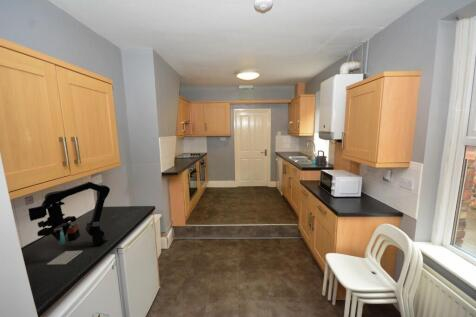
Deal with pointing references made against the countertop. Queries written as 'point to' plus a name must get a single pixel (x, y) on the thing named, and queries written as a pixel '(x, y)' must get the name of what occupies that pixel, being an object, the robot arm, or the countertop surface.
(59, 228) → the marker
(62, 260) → the notepad
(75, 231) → the battery
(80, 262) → the countertop surface
